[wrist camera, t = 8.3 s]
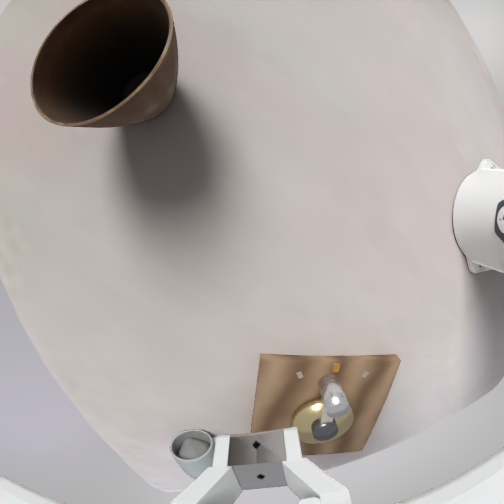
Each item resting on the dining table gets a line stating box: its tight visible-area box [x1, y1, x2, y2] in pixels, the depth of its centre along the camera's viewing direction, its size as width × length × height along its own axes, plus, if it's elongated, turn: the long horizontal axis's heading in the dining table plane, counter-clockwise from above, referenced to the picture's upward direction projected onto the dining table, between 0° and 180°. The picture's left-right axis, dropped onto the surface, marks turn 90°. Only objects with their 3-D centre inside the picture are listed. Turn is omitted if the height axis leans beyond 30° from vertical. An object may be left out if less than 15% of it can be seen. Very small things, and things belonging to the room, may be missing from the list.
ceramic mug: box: [170, 429, 217, 479], centre depth 42 cm, size 11×8×8 cm
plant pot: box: [30, 0, 178, 128], centre depth 25 cm, size 15×15×16 cm
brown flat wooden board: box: [250, 354, 401, 455], centre depth 42 cm, size 22×22×2 cm
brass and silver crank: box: [291, 374, 354, 444], centre depth 37 cm, size 10×16×8 cm, turn 3°
